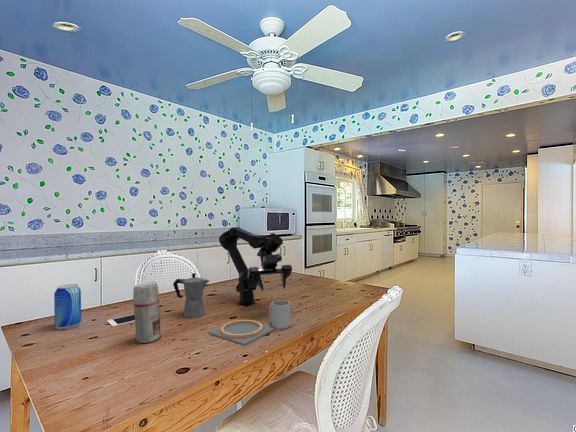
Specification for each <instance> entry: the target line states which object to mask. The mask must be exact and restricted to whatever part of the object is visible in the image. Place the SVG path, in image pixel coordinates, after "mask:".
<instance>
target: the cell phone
mask: <svg viewBox="0 0 576 432" xmlns="http://www.w3.org/2000/svg"><path fill="white" fill-rule="evenodd" d="M106 322H108V323H109V324H110V325H111V326H110V325H109V324H108V323H107V324H108V325H109V326H110V327H111V328H116V327H120V326H119V325H121V326H124V324H125V325H129V324H133V323H135V314H134V313H133V314H129V315H125V316H120V317H115V318H111V319H108V320H107V321H106ZM128 323H129V324H128ZM115 326H116V327H115Z"/></svg>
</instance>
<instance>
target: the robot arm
mask: <svg viewBox="0 0 576 432" xmlns="http://www.w3.org/2000/svg"><path fill="white" fill-rule="evenodd" d="M239 239H240V240H243V241H245V242H247V243H248V245H249V246H250V247H251V248H252V249H259V250H258V252H257V254H256V256H257V257H259V258H260V263H261V264H260V265H261V268H262V269H260V268H259V266H252V267H251V266H249V268H248V267H247V264H246V262H245V260H244V258H243V256H242V254H241V252H240V250H239V249H238V240H239ZM218 242H219V244H220V245H221V247H222V248H223V249H224V250H226V251H227V252H228V255H229V256H230V259H231V261H232V262H233V265H234V267H235V268H236V271H237V273H238V279H237V280H238V284H237V285H236V286H235V289H236V292H237V293H239V302H236V303H237V305H241V306H245V307H247V306H250V305H253V304H255V303H256V301H255V300H254V299H255V296H254V295H255V294H254V291H257V287H259V289H260V290H261V291H262V292H263V291H264V289H265V288H264V285H263V281H262V278H261V276H262V275H278V274H280V280H281V284H282V289H283V290H285V288H286V281H287V279H288V278H289V277H290V276H291V274H292V271H293V266H292V265H291V264H282V265H281V268H277V267H278V263H279V262H280V263H281V262H282V260H283V259H282V253H280V252H279V253H276V252H277V251H278V249H280V247H281V246H282V245H283V243H284V240H283V239H282V238H281V237H280V236H279V235H277V234H276V233H275V232H273V233H270V235H269V236H268V238H267V236H266V235H263V234H256V233H255V234H254V233H252V232H250V231H247V230H245V229H243V228H241V227H239V226H234V227H231V228H229V230H227V231H224V232H223V233H222V234H220V236H219V238H218ZM274 253H276V254H274Z"/></svg>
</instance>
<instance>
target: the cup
mask: <svg viewBox="0 0 576 432" xmlns="http://www.w3.org/2000/svg"><path fill="white" fill-rule="evenodd" d="M268 315H269V316H268V317H269V318H270V320H271V326H272V327H271V328H275V330H284V329H285V330H286V329H289V328H290V326H291V302H290V301H289V300H283V299H279V300H273V301H272V302H271V304H270V305H269V307H268Z"/></svg>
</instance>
